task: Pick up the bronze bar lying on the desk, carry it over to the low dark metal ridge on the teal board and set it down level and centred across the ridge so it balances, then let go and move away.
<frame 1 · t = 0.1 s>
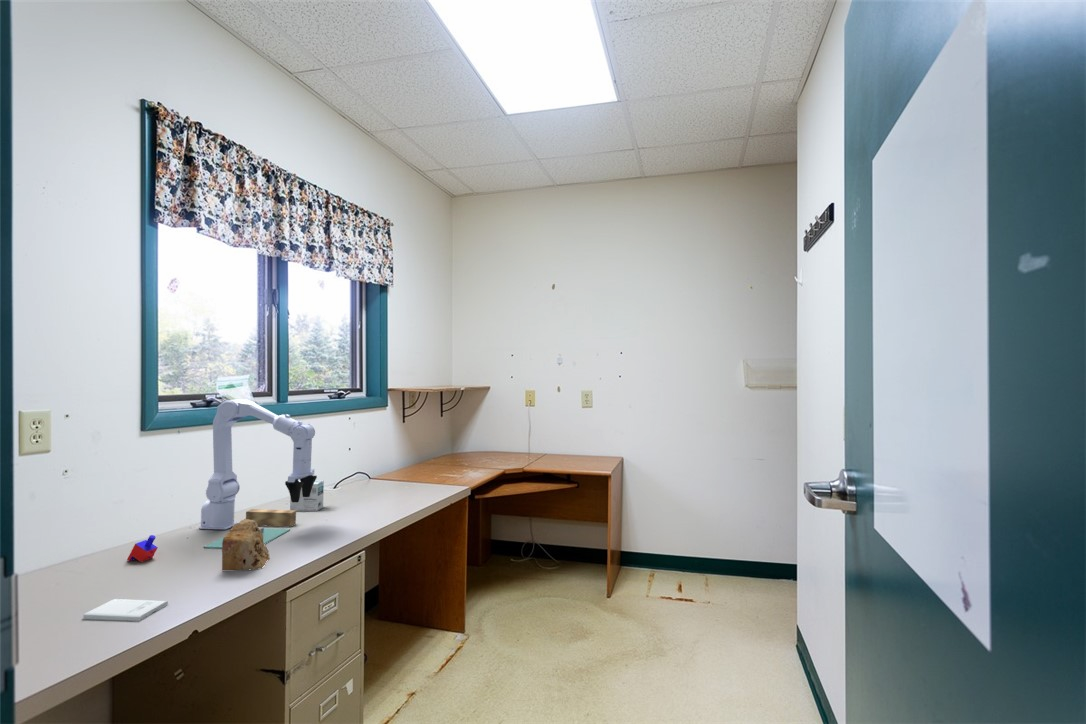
hand: (300, 499, 181), 10 cm above the table, tool pointing down, fingers open, 7 cm apart
light bulb box: (306, 509, 207), on the table
stone fragment: (252, 563, 148), on the table
red blue dreidel: (142, 560, 148), on the table
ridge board: (249, 538, 169), on the table
external hard drive: (126, 614, 116), on the table
bronze bar: (270, 525, 185), on the table
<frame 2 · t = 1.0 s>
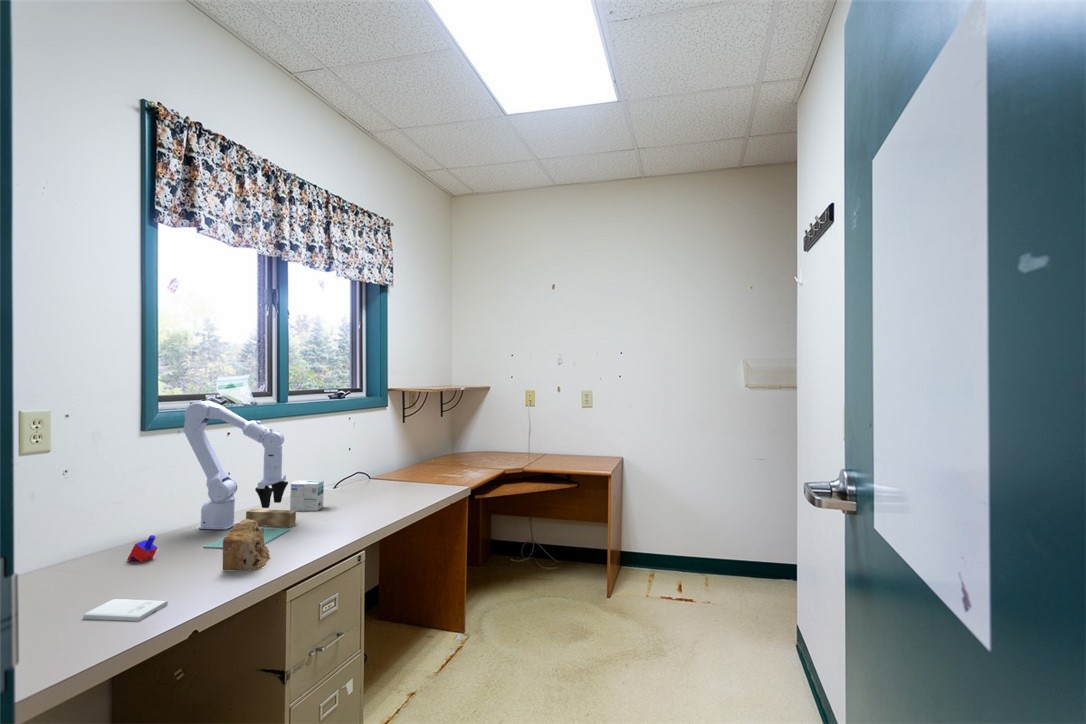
hand: (271, 505, 185), 7 cm above the table, tool pointing down, fingers open, 7 cm apart
nothing on the table moved.
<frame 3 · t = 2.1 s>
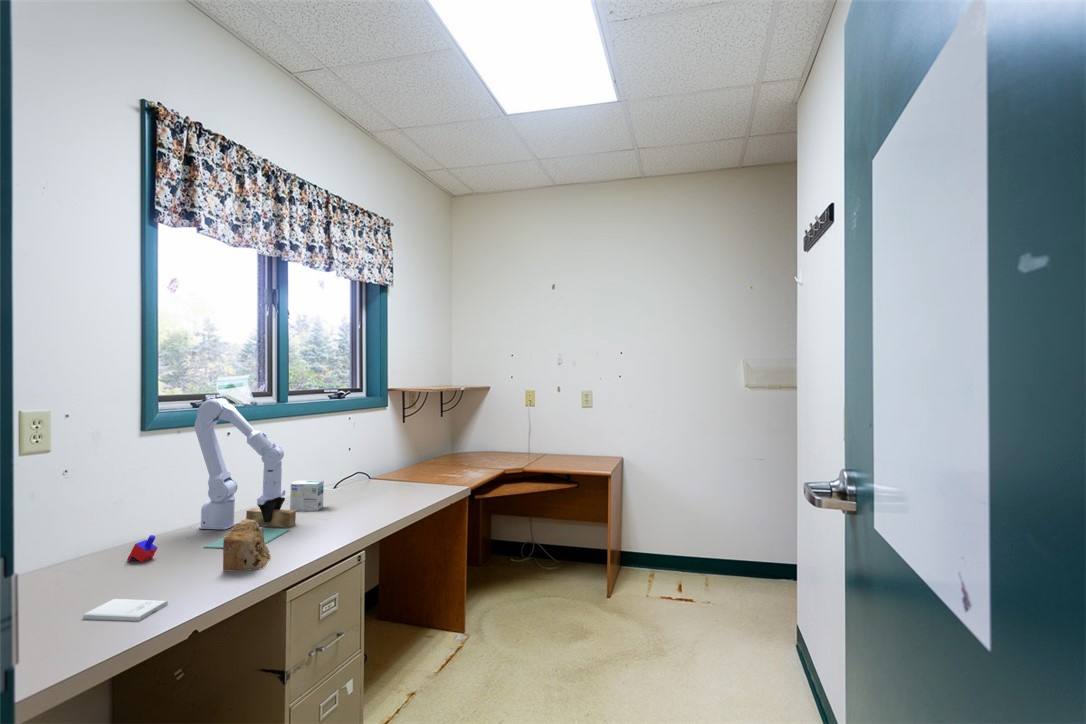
hand: (270, 520, 185), 1 cm above the table, tool pointing down, fingers closed on bronze bar, 4 cm apart
bronze bar: (270, 524, 185), on the table, touching gripper
everything else where it was.
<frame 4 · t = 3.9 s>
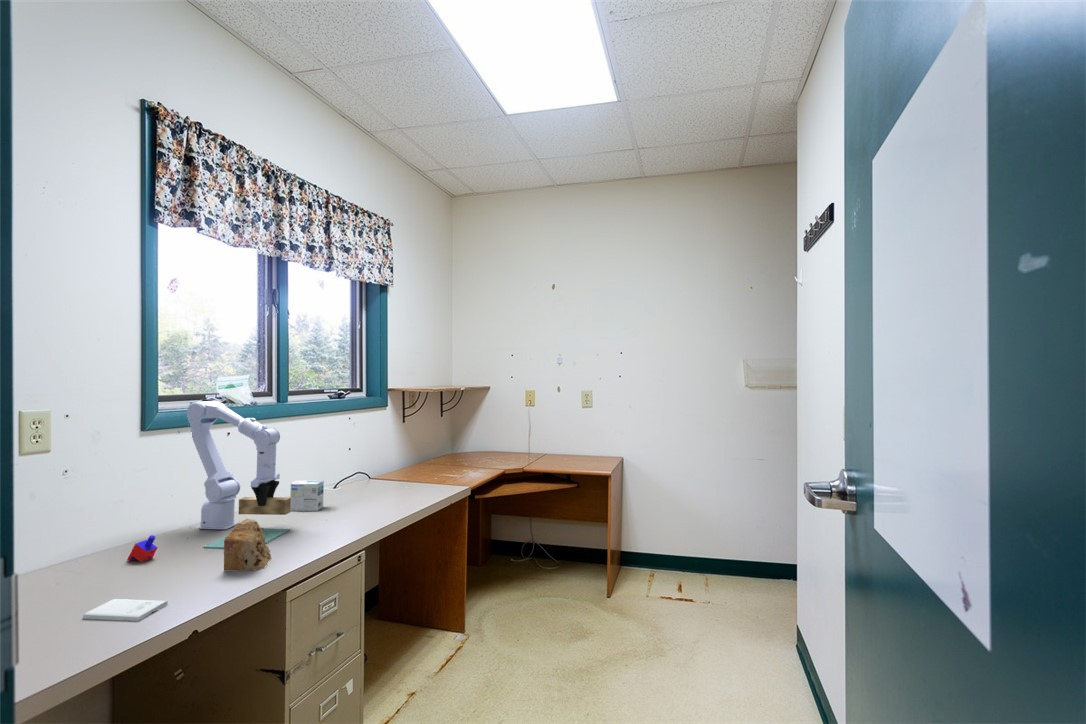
hand: (264, 504, 179), 8 cm above the table, tool pointing down, fingers closed on bronze bar, 3 cm apart
bronze bar: (264, 513, 179), point 5 cm above the table, touching gripper
everything else where it was.
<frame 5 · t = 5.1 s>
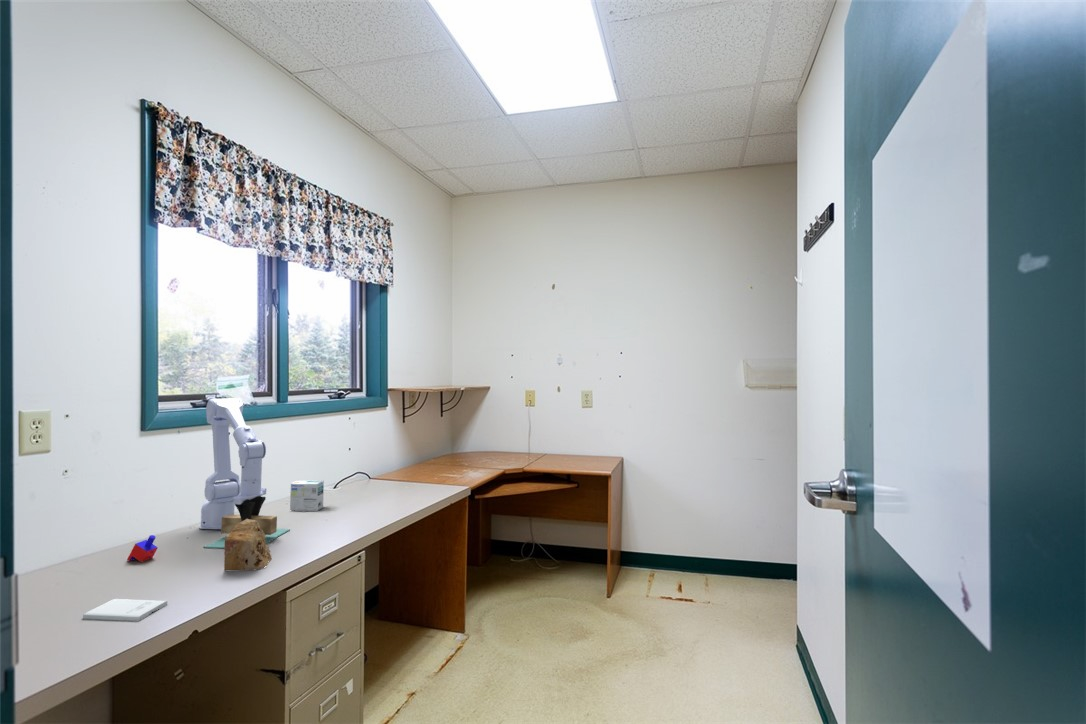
hand: (249, 521, 169), 5 cm above the table, tool pointing down, fingers closed on bronze bar, 3 cm apart
bronze bar: (249, 532, 169), point 2 cm above the table, touching gripper, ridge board
everything else where it was.
when the fingers open (5 cm above the table, at t = 5.9 s): bronze bar stays where it is, resting on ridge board.
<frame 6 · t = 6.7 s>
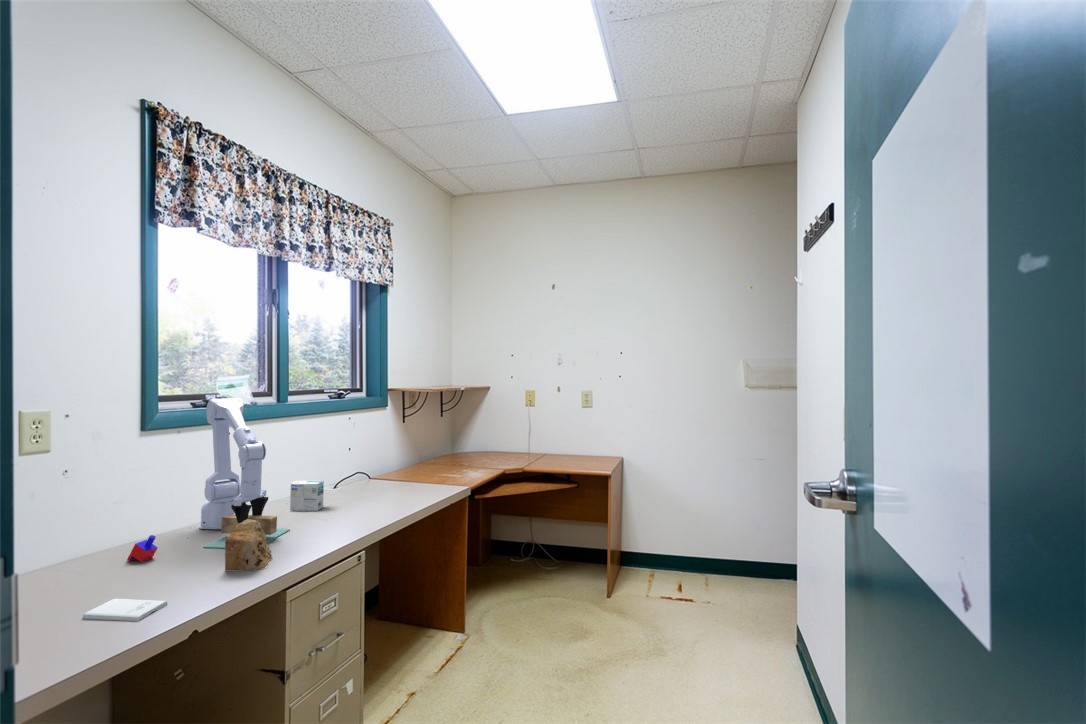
hand: (249, 523, 169), 5 cm above the table, tool pointing down, fingers open, 7 cm apart
bronze bar: (249, 532, 169), point 2 cm above the table, touching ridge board
everything else where it was.
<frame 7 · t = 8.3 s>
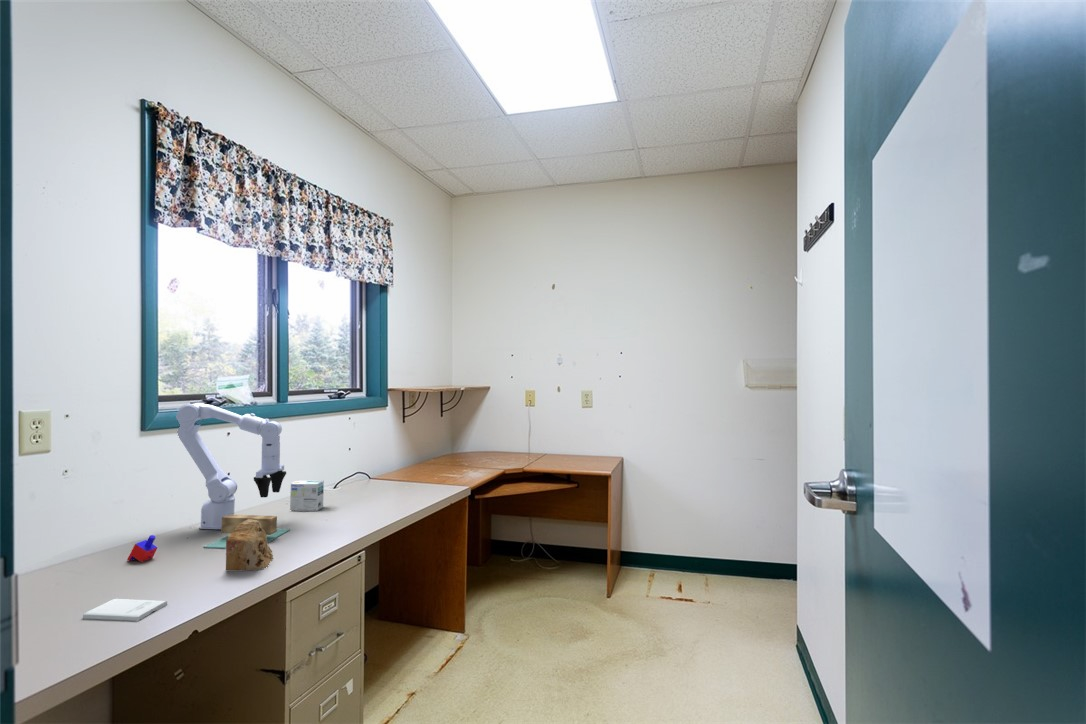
hand: (270, 494, 185), 10 cm above the table, tool pointing down, fingers open, 7 cm apart
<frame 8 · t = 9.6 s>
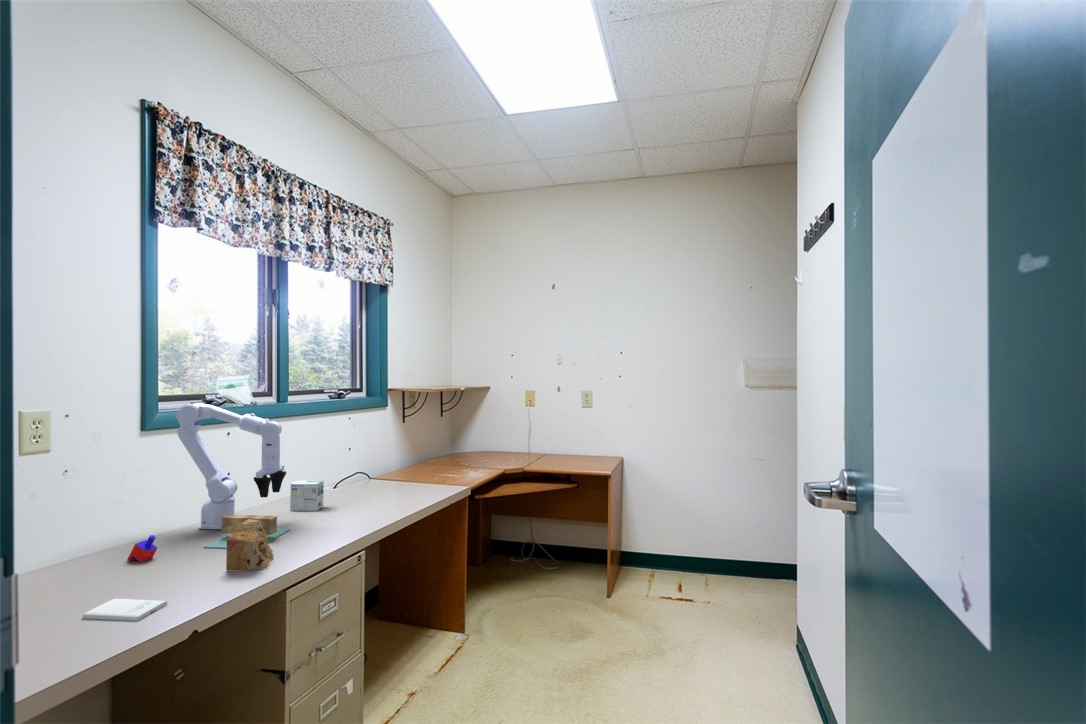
hand: (270, 494, 185), 10 cm above the table, tool pointing down, fingers open, 7 cm apart
at the end: bronze bar inside the target area on the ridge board (0.1 cm from its centre), point 2.0 cm above the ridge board's base; bronze bar tilted 0°; the gripper is holding nothing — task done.
